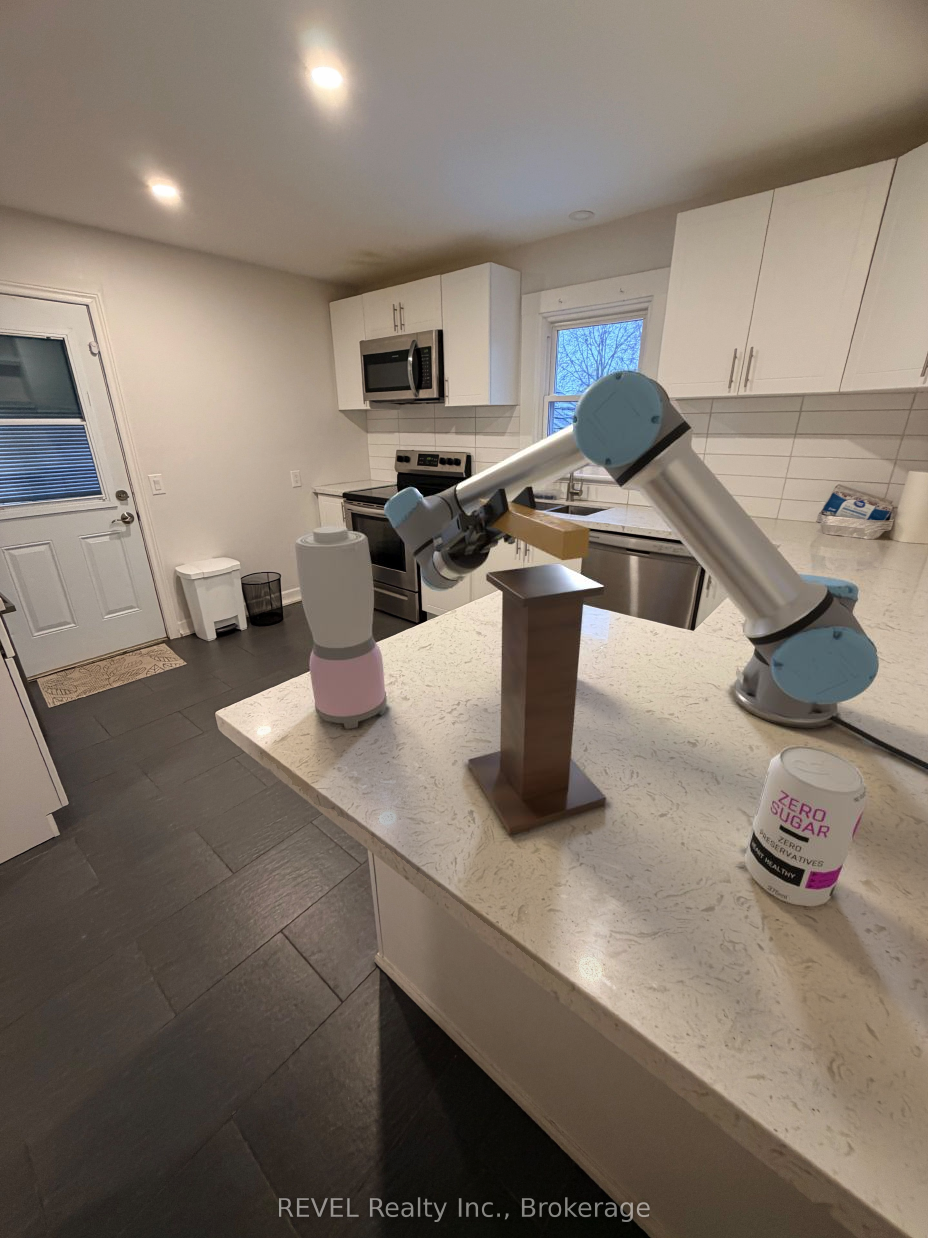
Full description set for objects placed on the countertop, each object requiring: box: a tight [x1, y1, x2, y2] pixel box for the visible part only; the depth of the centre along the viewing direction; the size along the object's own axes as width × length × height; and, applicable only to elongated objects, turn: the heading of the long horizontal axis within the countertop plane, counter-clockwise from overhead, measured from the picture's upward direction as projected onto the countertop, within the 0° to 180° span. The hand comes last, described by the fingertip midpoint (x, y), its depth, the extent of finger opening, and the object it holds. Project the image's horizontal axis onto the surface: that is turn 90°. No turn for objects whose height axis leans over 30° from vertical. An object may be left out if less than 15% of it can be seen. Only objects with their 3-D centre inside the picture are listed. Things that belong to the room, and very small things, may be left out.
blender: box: [294, 525, 387, 730], centre depth 82 cm, size 16×12×32 cm
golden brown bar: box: [479, 498, 591, 561], centre depth 59 cm, size 22×3×3 cm, turn 21°
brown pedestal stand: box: [467, 563, 607, 836], centre depth 63 cm, size 14×14×30 cm
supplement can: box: [743, 744, 869, 907], centre depth 52 cm, size 8×8×15 cm
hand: (517, 498), depth 60 cm, fingers closed on golden brown bar, 3 cm apart
